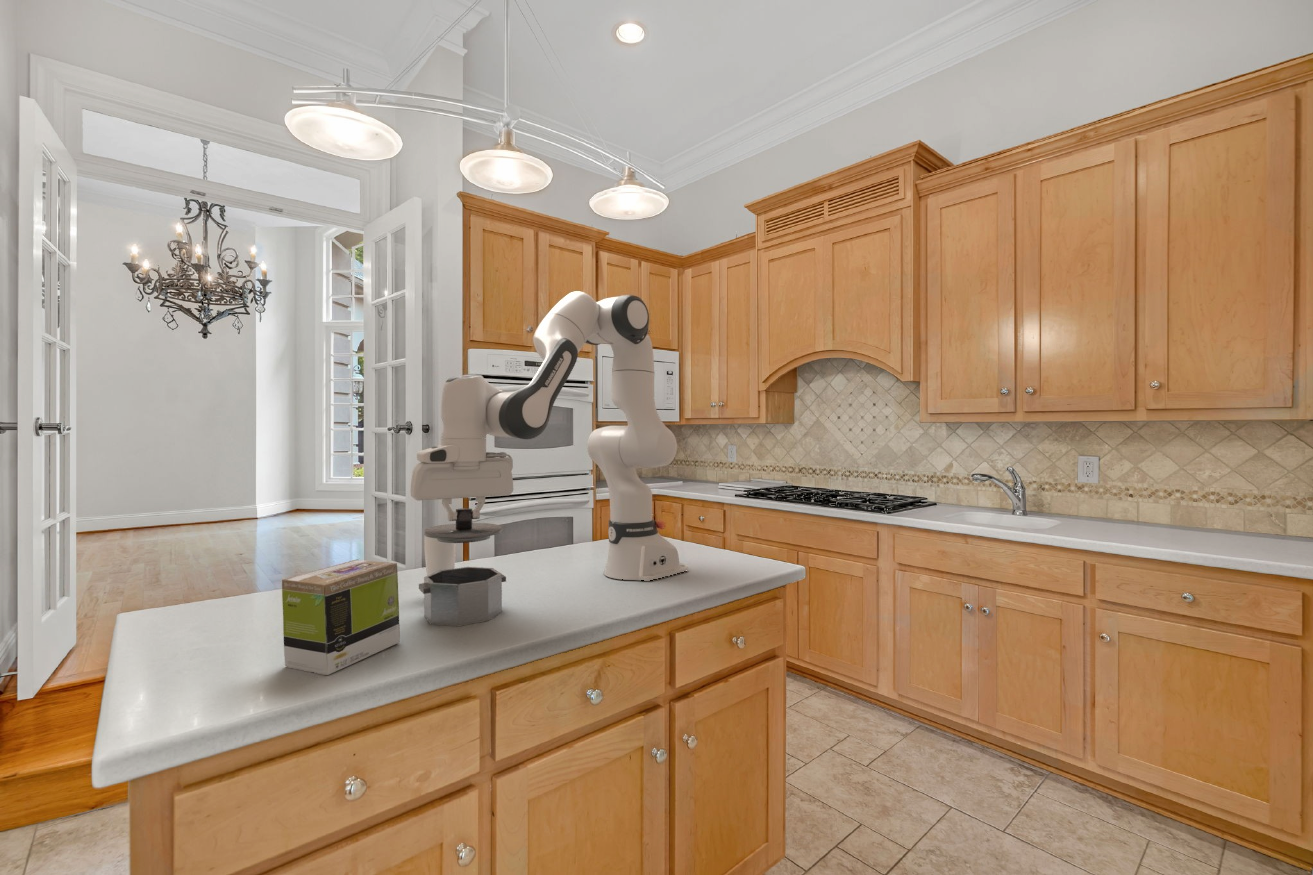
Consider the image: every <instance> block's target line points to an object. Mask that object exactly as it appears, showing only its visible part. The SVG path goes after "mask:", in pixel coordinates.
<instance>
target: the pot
mask: <svg viewBox="0 0 1313 875" xmlns="http://www.w3.org/2000/svg"><path fill="white" fill-rule="evenodd" d="M506 582H507V576H505V575H504V574H502V573H501V572H500V571H498V570H497V569H495V568H493V567H482V566H481V567H478V566H464V567H456V568H455V567H454V569H447V570H440V571H438V572H435V573H433V574H431V575H428V576H427V575H426V576H424V577H423V582H421V583H418V589H419V591H420V592H421V594H423V602H424V603H423V605H424V607H423V610H424V613H423V615H424V617H425V619H426V620H427V621H428V623H429V624H430V625H433V626H434V625H435V626H436V625H437V626H438V625H439V626H447V627H448V626H451V627H462V626H467V625H474V624H478V623H479V624H480V623H483V622H489V621H490V620H492V619H493V618H495V617H496V616H498V615H499V614H501V613H502V612H503V600H502V598H503V597H502V596H503V588H502V586H503V585H502V584H503V583H506Z"/></svg>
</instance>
